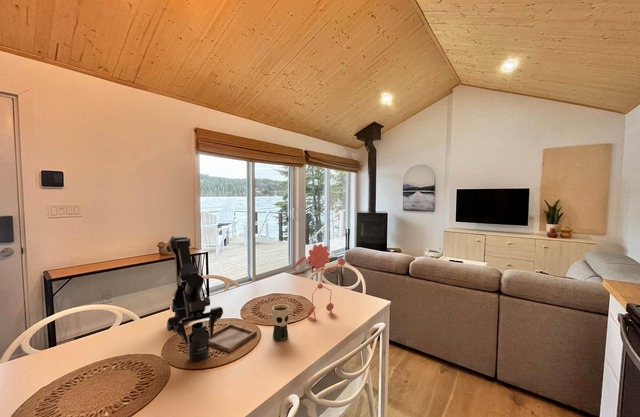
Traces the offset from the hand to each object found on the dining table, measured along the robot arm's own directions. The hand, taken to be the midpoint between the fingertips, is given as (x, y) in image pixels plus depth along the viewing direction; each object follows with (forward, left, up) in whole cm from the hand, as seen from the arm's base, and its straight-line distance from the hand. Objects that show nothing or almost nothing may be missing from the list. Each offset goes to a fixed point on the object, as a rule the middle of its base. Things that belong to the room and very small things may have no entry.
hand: (199, 341), depth 99 cm
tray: (-1, +16, -7) cm, 17 cm away
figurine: (+19, +55, -7) cm, 58 cm away
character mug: (+17, +26, -7) cm, 31 cm away
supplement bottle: (-1, +1, -7) cm, 7 cm away
